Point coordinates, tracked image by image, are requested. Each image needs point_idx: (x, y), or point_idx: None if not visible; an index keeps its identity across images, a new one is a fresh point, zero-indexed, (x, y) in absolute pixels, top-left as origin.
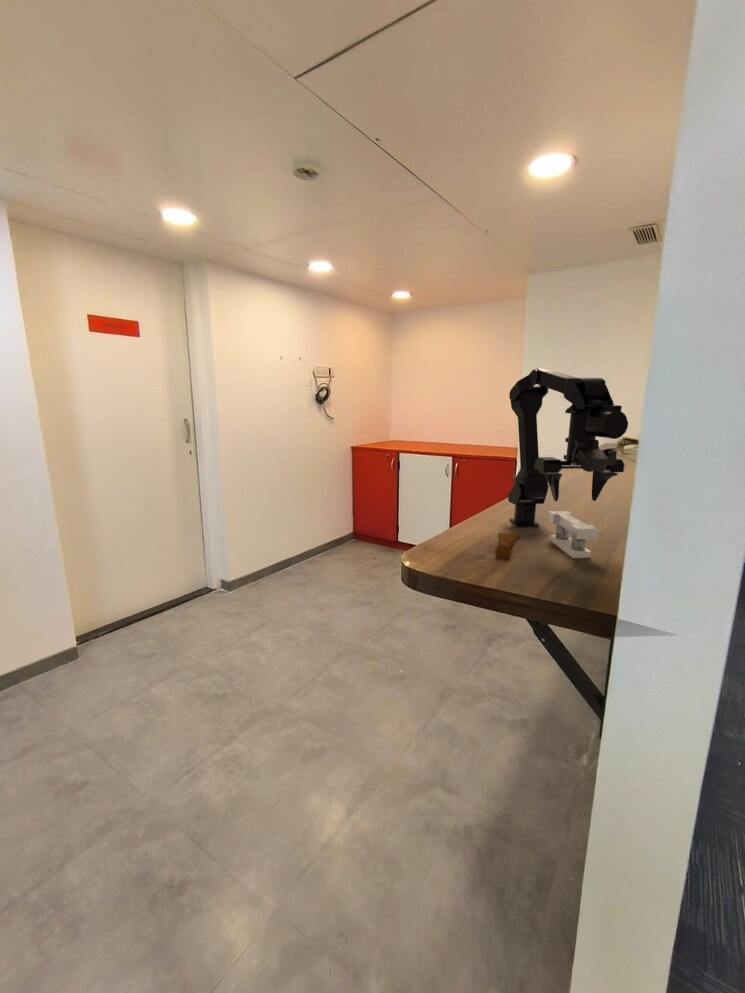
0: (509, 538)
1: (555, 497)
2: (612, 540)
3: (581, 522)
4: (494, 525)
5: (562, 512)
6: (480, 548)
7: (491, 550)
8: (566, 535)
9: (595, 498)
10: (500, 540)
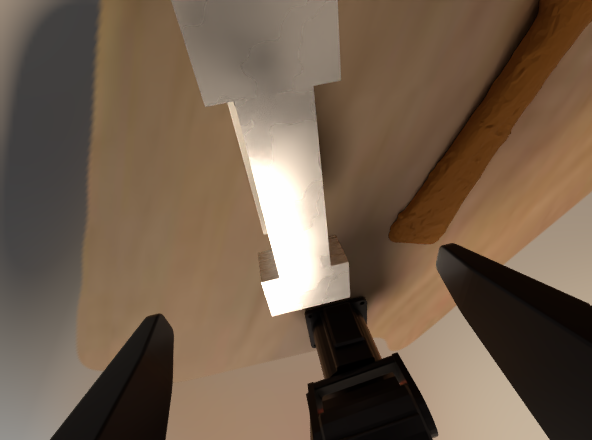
0: (455, 176)
1: (480, 257)
2: (100, 255)
3: (258, 150)
4: (414, 294)
5: (299, 294)
6: (562, 99)
7: None
8: None
9: (148, 327)
10: (503, 142)
